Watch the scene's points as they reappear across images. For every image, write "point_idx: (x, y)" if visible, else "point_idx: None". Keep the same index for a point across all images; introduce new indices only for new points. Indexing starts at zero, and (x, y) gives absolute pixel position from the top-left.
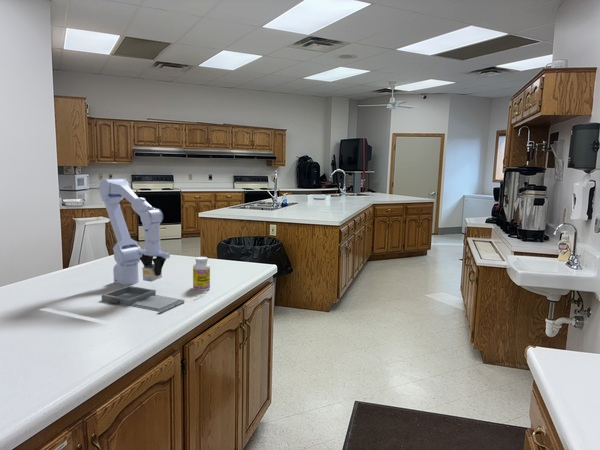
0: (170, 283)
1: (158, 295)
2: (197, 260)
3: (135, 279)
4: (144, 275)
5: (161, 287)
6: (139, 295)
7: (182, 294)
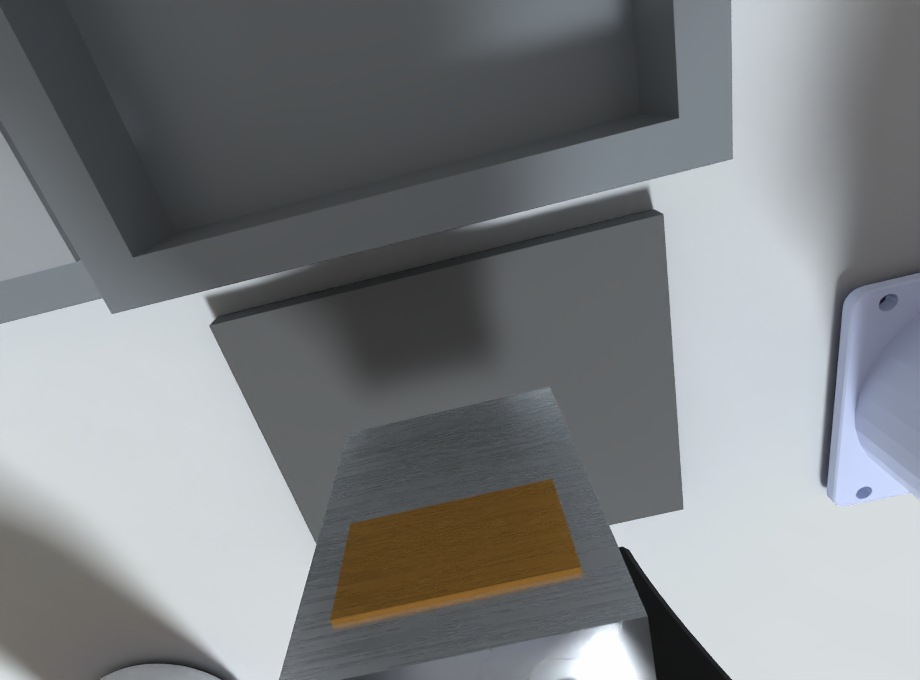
0: None
1: (97, 297)
2: None
3: (912, 444)
4: (522, 459)
5: None
6: None
7: (118, 538)
